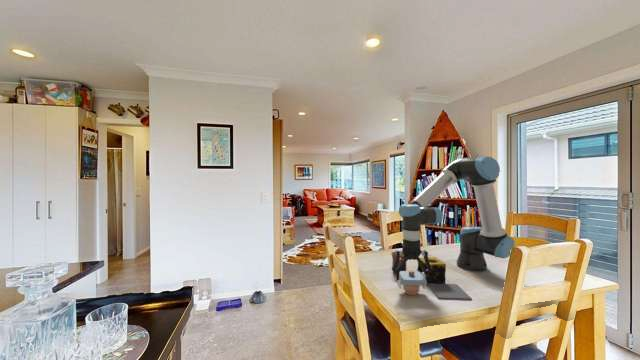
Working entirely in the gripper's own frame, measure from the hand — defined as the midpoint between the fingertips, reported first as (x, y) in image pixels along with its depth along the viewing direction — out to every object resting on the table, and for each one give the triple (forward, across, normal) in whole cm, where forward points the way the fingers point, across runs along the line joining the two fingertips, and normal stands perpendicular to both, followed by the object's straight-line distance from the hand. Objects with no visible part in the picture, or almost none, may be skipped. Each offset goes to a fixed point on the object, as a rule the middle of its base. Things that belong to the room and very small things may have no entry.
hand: (411, 287), depth 114 cm
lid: (-3, 0, 0) cm, 3 cm away
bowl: (+2, 0, 0) cm, 2 cm away
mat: (+3, -17, -2) cm, 17 cm away
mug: (+3, 0, -22) cm, 22 cm away
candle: (+3, -14, -15) cm, 21 cm away
